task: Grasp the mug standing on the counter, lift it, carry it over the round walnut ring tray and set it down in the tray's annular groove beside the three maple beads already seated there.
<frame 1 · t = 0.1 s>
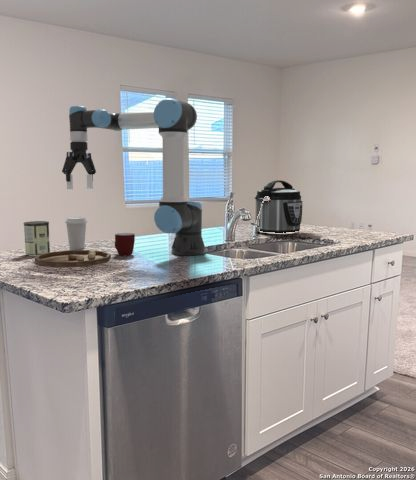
hand: (80, 188, 219), 28 cm above the worktop, fingers open, 13 cm apart
mug: (123, 257, 201), on the worktop
coffee cup: (77, 251, 218), on the worktop
bead a: (80, 262, 182), point 1 cm above the worktop, touching ring tray
pressure cooker: (278, 233, 288), on the worktop
ring tray: (73, 262, 188), on the worktop
bead c: (92, 257, 192), point 1 cm above the worktop, touching ring tray
coffee can: (37, 254, 207), on the worktop
bead b: (91, 260, 187), point 1 cm above the worktop, touching ring tray
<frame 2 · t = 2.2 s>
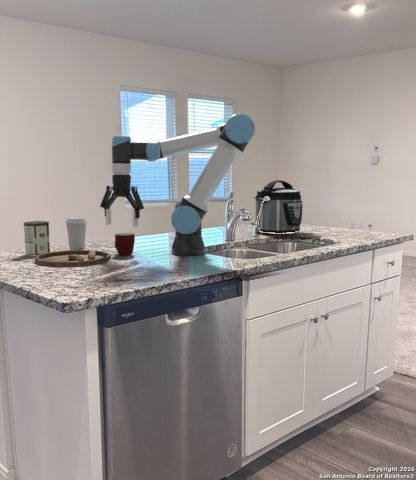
hand: (121, 225, 199), 13 cm above the worktop, fingers open, 13 cm apart
nothing on the worktop moved.
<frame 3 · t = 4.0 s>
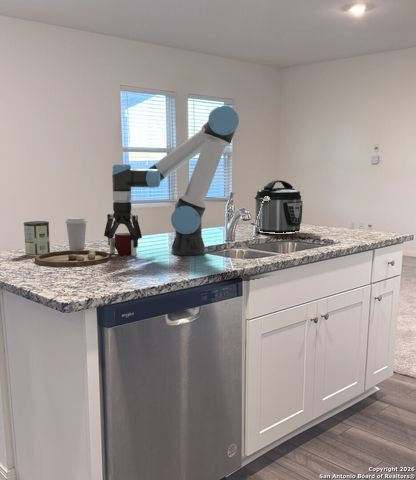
hand: (123, 254, 201), 1 cm above the worktop, fingers closed on mug, 10 cm apart
mug: (123, 257, 201), on the worktop, touching gripper
everything else where it was.
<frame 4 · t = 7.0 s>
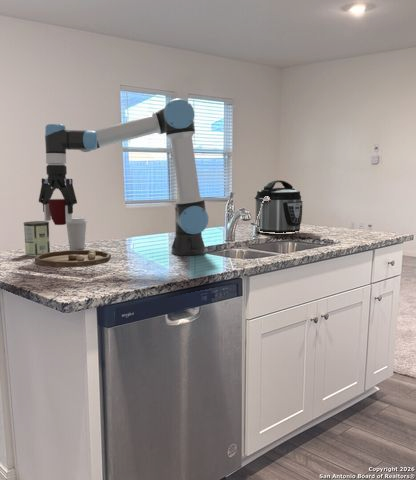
hand: (58, 221, 189), 16 cm above the worktop, fingers closed on mug, 10 cm apart
mug: (58, 224, 189), point 15 cm above the worktop, touching gripper
everything else where it was.
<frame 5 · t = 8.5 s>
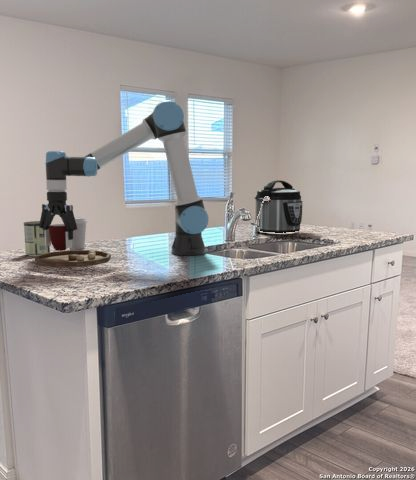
hand: (58, 246, 191), 6 cm above the worktop, fingers closed on mug, 10 cm apart
mug: (58, 250, 191), point 4 cm above the worktop, touching gripper
everything else where it was.
when the fingers open (4 cm above the worktop, at t = 9.8 s): mug drops 1 cm, resting on ring tray.
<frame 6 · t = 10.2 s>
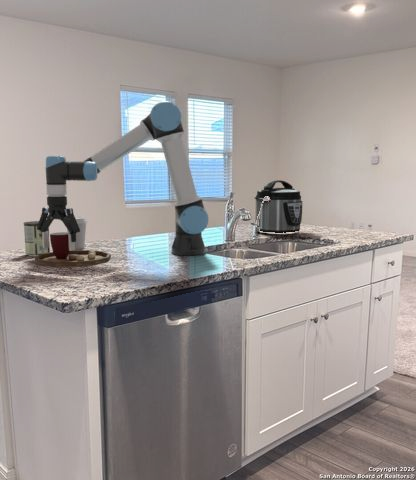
hand: (58, 249, 191), 5 cm above the worktop, fingers open, 13 cm apart
mug: (59, 258, 191), point 1 cm above the worktop, touching ring tray
everything else where it was.
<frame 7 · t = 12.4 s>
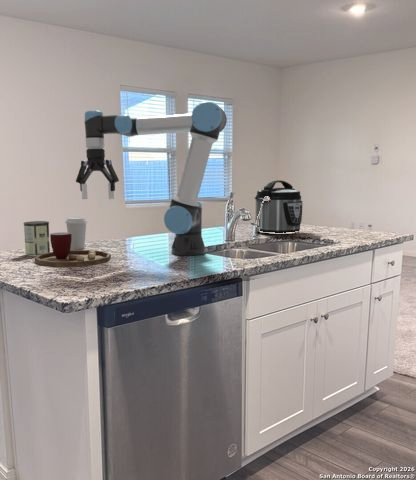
hand: (98, 199, 204), 24 cm above the worktop, fingers open, 13 cm apart
nothing on the worktop moved.
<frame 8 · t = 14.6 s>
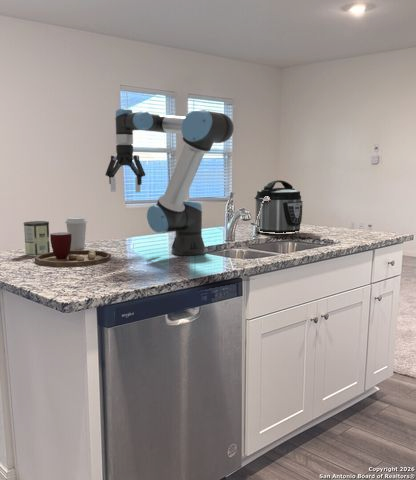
hand: (125, 191, 218), 27 cm above the worktop, fingers open, 13 cm apart
nothing on the worktop moved.
at the end: mug inside the target area on the ring tray (0.2 cm from its centre), point 1.0 cm above the ring tray's base; mug tilted 0°; the gripper is holding nothing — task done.
